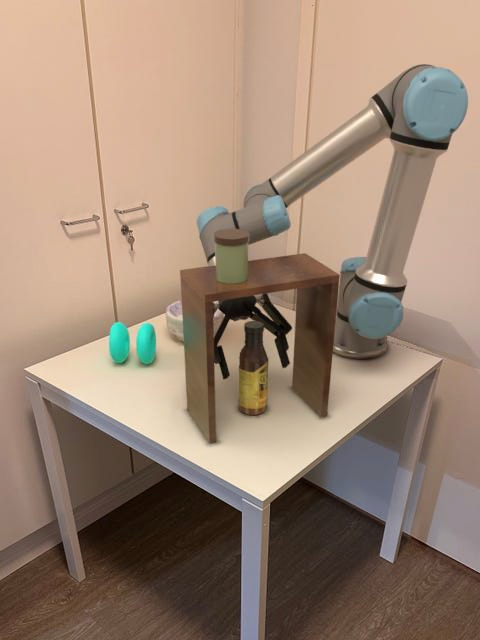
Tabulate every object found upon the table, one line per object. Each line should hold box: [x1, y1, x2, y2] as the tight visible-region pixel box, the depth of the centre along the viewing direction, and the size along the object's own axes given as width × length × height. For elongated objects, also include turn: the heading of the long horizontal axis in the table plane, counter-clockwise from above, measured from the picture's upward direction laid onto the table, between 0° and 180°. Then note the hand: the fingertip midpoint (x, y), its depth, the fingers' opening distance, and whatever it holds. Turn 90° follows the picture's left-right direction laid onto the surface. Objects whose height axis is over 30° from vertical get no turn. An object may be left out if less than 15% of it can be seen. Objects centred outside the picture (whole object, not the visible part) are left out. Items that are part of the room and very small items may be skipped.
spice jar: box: [214, 229, 249, 284], centre depth 115 cm, size 6×6×8 cm
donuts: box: [108, 321, 157, 365], centre depth 155 cm, size 10×10×10 cm
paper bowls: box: [165, 299, 225, 343], centre depth 168 cm, size 15×15×8 cm
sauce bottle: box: [238, 320, 269, 416], centre depth 133 cm, size 6×6×20 cm
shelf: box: [179, 252, 340, 444], centre depth 129 cm, size 27×14×32 cm, turn 113°
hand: (257, 371), depth 131 cm, fingers open, 13 cm apart
